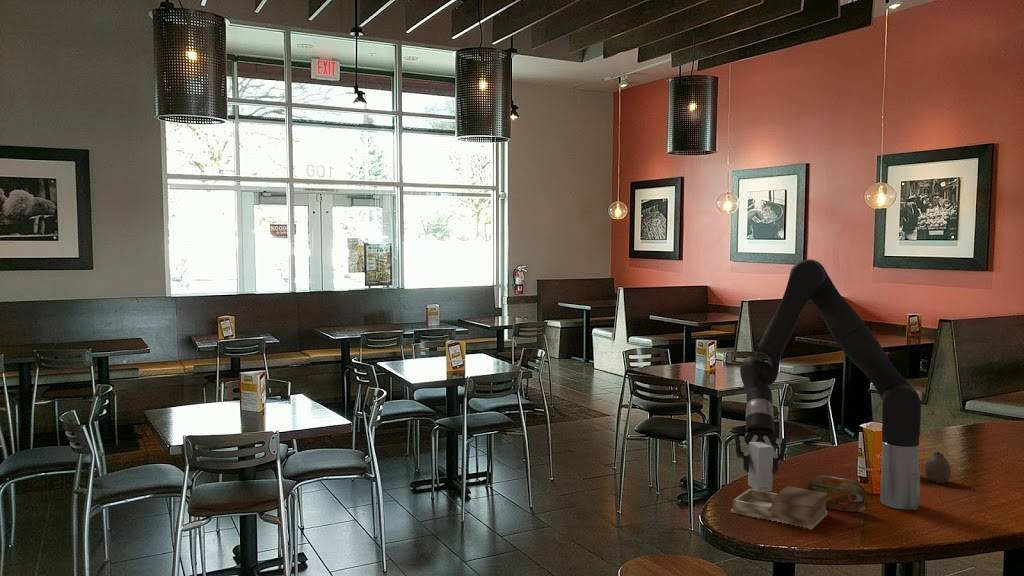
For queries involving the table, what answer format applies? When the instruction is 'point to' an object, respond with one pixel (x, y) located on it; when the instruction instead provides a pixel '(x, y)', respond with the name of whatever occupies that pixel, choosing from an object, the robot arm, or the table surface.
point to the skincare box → (760, 466)
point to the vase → (938, 468)
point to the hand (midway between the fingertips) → (760, 471)
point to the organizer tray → (761, 507)
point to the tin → (839, 492)
